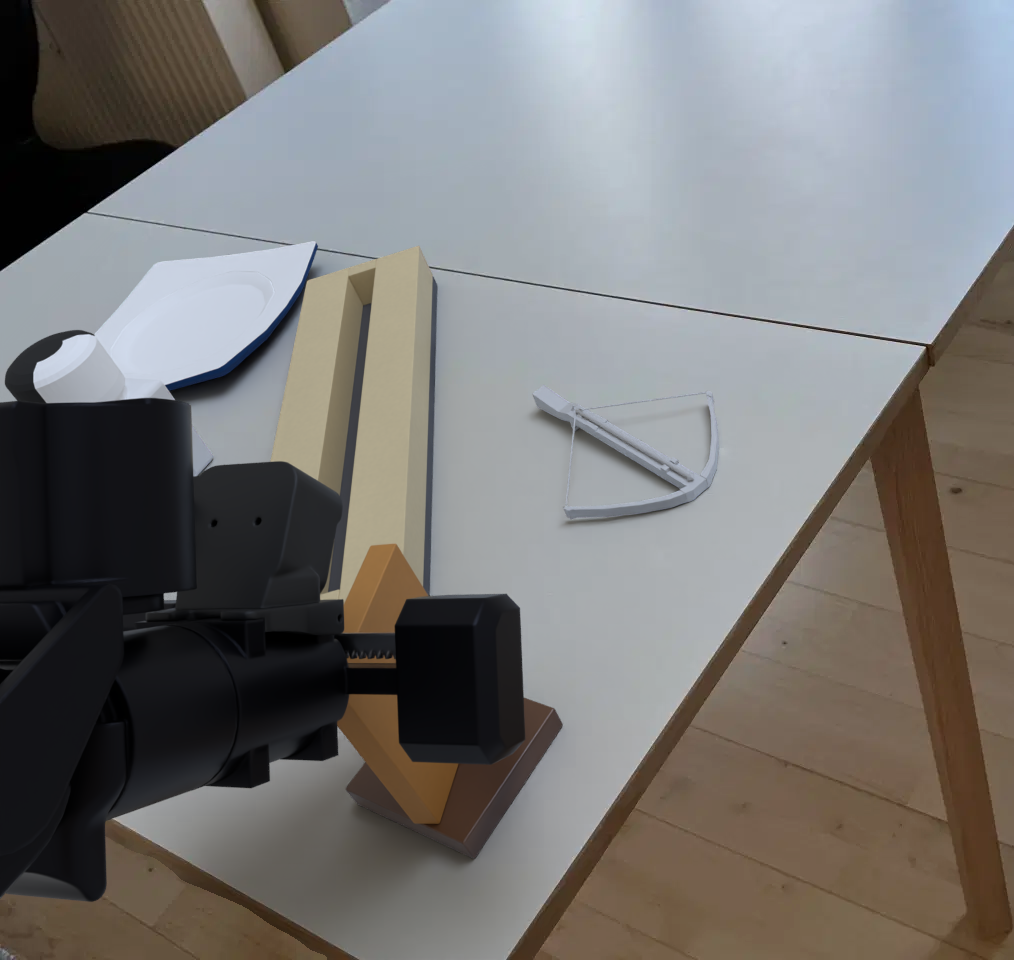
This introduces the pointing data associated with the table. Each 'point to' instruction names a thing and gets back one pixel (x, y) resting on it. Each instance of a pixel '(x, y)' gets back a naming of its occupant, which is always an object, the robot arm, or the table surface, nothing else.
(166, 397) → the container
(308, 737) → the robot arm
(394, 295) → the toaster
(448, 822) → the bread board
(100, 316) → the table surface
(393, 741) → the toast
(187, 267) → the plate
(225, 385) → the table surface
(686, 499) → the crossbow
